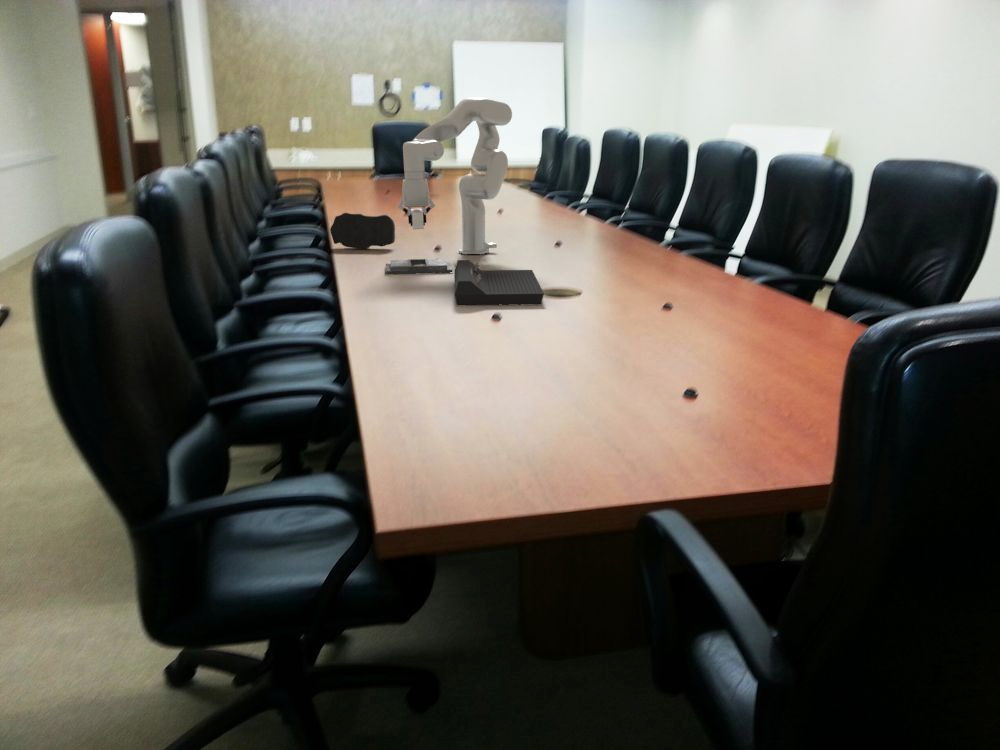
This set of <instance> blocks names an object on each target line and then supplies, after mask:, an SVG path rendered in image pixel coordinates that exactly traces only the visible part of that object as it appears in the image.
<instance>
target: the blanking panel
mask: <svg viewBox="0 0 1000 750" xmlns="http://www.w3.org/2000/svg"><path fill="white" fill-rule="evenodd" d="M411 215H412V225H413V226H411V227H412V230H424V229H425V227H424V226H425V225H424V223H423V209H422V208H420V207H415V208H411Z"/></svg>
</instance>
